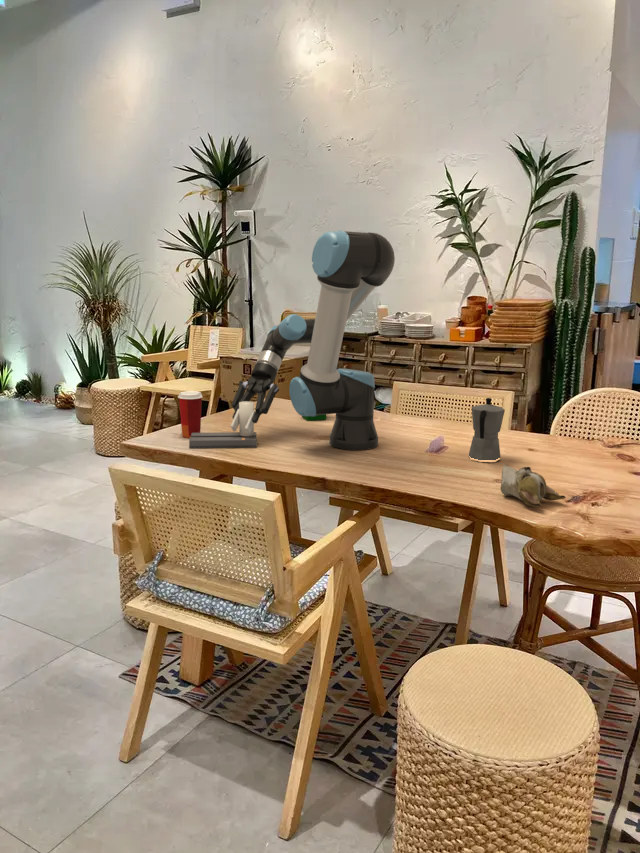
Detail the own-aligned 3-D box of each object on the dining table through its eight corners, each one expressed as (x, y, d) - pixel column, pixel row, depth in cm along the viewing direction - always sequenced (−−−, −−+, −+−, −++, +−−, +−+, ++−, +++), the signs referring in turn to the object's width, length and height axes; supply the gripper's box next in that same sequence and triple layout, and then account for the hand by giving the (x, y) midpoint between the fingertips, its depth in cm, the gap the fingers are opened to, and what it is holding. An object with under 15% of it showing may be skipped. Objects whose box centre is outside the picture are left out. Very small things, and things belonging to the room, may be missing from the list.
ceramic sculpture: (518, 455, 168) (571, 473, 157) (514, 487, 170) (565, 508, 159) (490, 461, 162) (542, 481, 150) (486, 495, 164) (537, 517, 153)
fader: (253, 439, 211) (253, 401, 208) (254, 442, 207) (253, 404, 204) (239, 439, 210) (239, 401, 208) (239, 442, 206) (239, 404, 203)
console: (256, 439, 214) (256, 431, 213) (256, 447, 204) (256, 439, 203) (192, 440, 212) (191, 432, 211) (189, 448, 202) (189, 440, 201)
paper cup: (206, 433, 220) (205, 391, 217) (199, 439, 213) (198, 395, 210) (182, 432, 221) (181, 390, 218) (175, 438, 214) (174, 394, 210)
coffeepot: (472, 451, 204) (476, 392, 200) (504, 455, 200) (509, 395, 196) (461, 464, 190) (465, 401, 186) (495, 468, 187) (500, 404, 183)
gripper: (294, 377, 215) (269, 439, 204) (246, 373, 221) (220, 433, 210) (287, 363, 209) (261, 426, 198) (238, 359, 215) (210, 420, 205)
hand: (240, 429), depth 204 cm, fingers closed on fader, 4 cm apart
